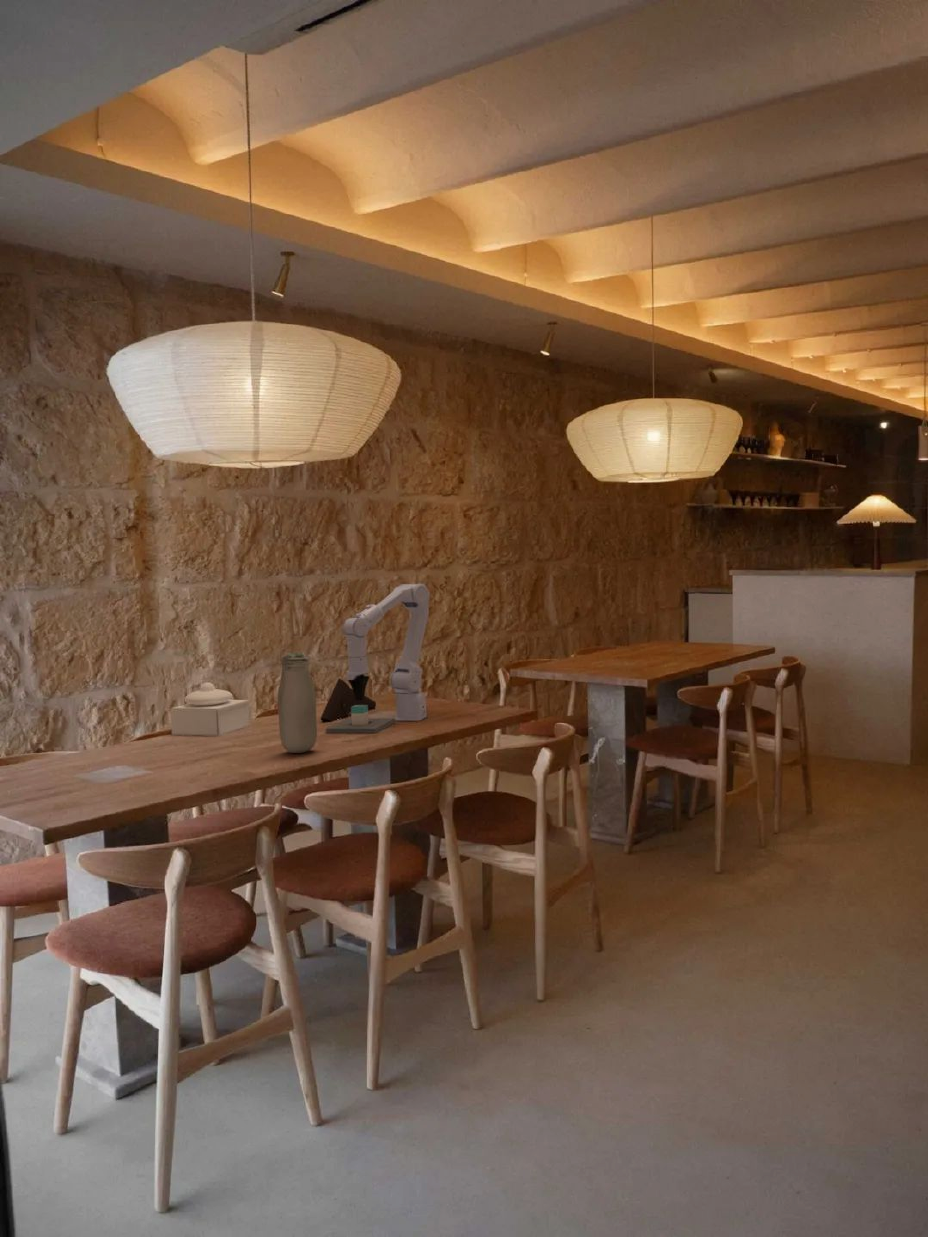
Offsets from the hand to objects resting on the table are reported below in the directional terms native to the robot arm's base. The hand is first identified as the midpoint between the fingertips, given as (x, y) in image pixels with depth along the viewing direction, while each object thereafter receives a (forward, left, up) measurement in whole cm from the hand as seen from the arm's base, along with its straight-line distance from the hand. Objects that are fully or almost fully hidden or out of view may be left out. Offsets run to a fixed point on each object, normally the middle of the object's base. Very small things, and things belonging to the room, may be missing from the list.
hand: (359, 700), depth 310 cm
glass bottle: (+4, +37, -9) cm, 38 cm away
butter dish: (+50, +4, -9) cm, 51 cm away
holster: (+13, -24, -9) cm, 29 cm away
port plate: (0, 0, -9) cm, 9 cm away
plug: (0, 0, -9) cm, 9 cm away
